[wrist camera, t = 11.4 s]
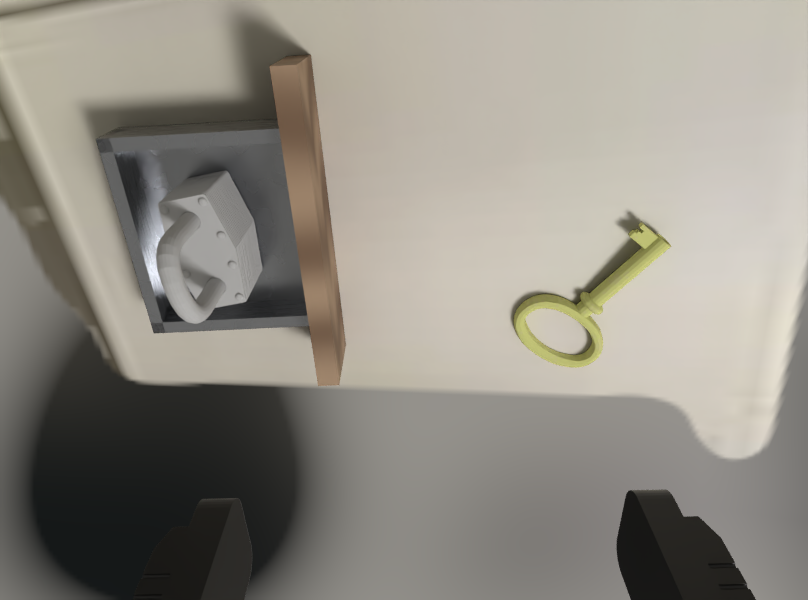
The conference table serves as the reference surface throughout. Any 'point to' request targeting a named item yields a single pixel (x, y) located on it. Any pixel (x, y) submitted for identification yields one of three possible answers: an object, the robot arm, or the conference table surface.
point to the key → (589, 302)
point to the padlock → (206, 246)
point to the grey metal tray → (259, 188)
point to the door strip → (310, 211)
